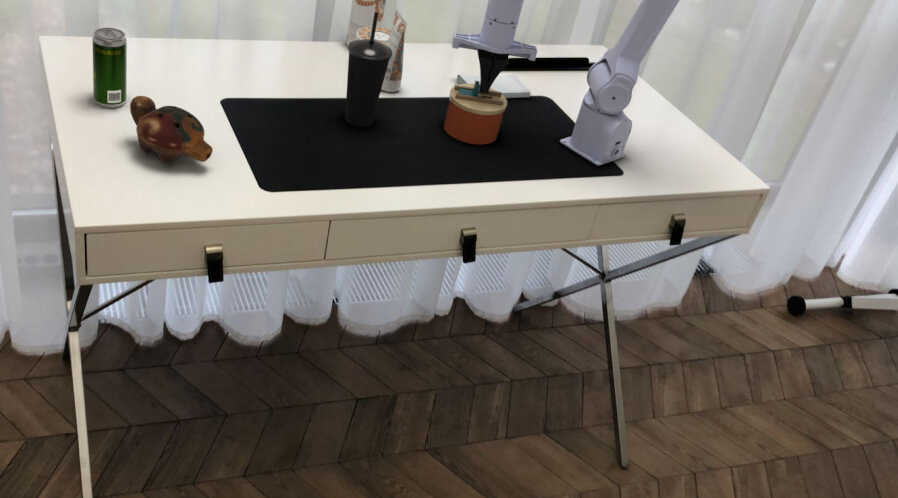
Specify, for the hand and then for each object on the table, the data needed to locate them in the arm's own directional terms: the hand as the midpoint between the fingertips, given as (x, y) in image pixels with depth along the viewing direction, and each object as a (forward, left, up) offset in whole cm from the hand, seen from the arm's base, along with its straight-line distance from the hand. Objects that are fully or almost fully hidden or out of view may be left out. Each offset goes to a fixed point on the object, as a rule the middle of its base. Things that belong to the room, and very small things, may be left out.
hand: (483, 90), depth 173 cm
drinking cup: (+12, +18, -8) cm, 23 cm away
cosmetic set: (+28, 0, -8) cm, 29 cm away
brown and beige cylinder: (0, 0, -8) cm, 8 cm away
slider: (+2, +2, -1) cm, 3 cm away
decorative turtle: (+16, +54, -8) cm, 57 cm away
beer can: (+35, +54, -8) cm, 64 cm away
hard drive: (+11, -16, -8) cm, 21 cm away
